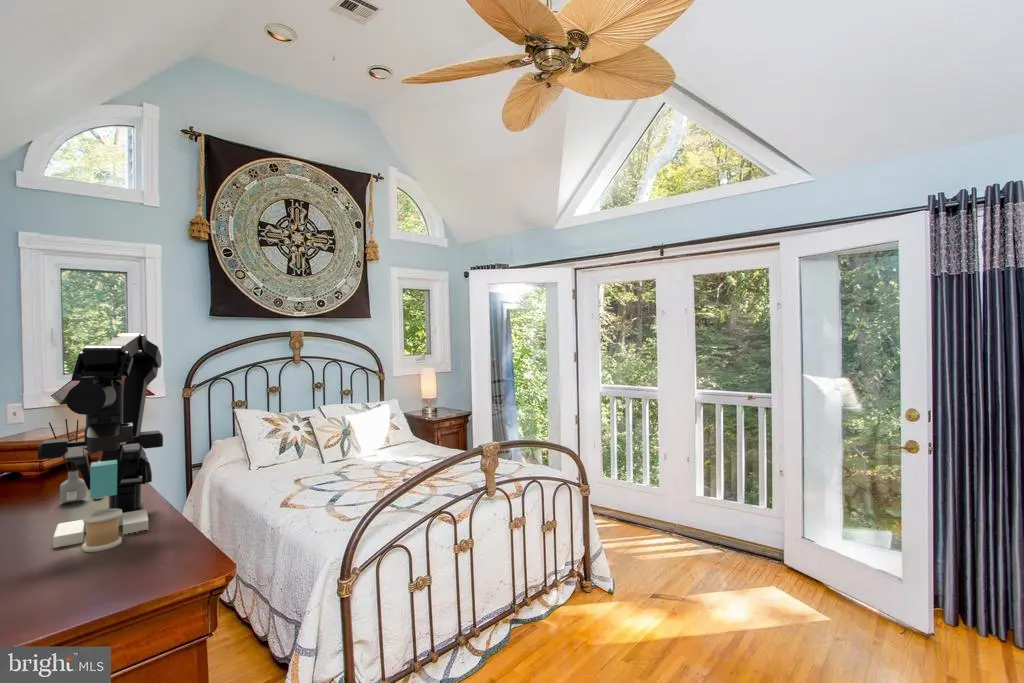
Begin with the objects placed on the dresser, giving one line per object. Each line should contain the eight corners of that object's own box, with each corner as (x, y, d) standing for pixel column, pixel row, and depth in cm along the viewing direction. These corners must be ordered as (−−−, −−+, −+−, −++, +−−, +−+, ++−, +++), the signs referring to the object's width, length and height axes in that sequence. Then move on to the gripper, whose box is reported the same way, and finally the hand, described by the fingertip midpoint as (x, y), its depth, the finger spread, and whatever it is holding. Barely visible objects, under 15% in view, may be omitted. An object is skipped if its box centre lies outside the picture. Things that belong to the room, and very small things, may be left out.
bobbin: (83, 545, 91) (83, 512, 91) (121, 537, 95) (122, 506, 95) (81, 554, 87) (81, 520, 87) (121, 546, 90) (122, 513, 91)
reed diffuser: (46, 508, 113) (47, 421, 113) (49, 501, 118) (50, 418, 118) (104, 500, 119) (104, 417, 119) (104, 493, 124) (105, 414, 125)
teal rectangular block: (91, 492, 98) (91, 462, 98) (116, 489, 100) (117, 459, 101) (90, 498, 94) (90, 467, 94) (116, 494, 97) (117, 464, 97)
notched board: (58, 533, 97) (58, 523, 97) (146, 518, 106) (146, 509, 106) (53, 548, 90) (53, 537, 90) (148, 530, 99) (148, 520, 99)
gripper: (34, 417, 85) (33, 507, 85) (165, 408, 97) (164, 488, 97) (41, 411, 94) (40, 492, 94) (161, 403, 106) (160, 476, 106)
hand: (104, 487), depth 97 cm, fingers closed on teal rectangular block, 4 cm apart
